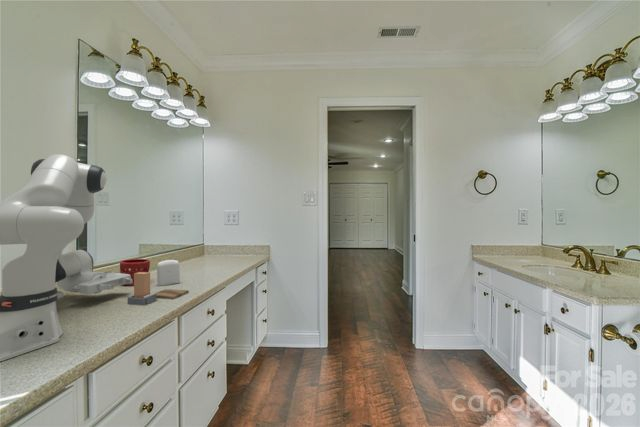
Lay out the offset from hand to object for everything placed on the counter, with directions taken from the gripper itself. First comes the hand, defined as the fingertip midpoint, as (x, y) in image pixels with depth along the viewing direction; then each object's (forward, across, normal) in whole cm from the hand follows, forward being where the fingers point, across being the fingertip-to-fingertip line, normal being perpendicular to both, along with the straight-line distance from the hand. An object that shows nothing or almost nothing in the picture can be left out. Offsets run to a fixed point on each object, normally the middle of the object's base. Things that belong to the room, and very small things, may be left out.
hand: (121, 284), depth 123 cm
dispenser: (+10, 0, +7) cm, 12 cm away
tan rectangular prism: (+10, 0, +7) cm, 12 cm away
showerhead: (-16, -17, +7) cm, 24 cm away
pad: (+14, +11, +7) cm, 19 cm away
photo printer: (0, +28, +7) cm, 29 cm away
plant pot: (-18, +26, +7) cm, 33 cm away
